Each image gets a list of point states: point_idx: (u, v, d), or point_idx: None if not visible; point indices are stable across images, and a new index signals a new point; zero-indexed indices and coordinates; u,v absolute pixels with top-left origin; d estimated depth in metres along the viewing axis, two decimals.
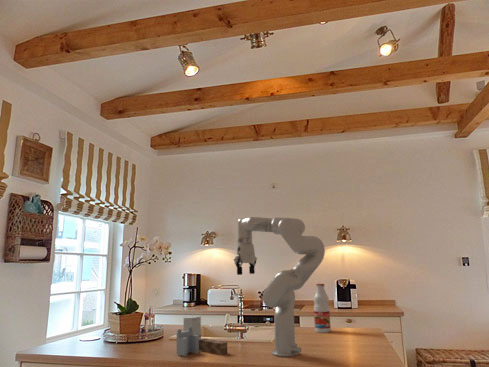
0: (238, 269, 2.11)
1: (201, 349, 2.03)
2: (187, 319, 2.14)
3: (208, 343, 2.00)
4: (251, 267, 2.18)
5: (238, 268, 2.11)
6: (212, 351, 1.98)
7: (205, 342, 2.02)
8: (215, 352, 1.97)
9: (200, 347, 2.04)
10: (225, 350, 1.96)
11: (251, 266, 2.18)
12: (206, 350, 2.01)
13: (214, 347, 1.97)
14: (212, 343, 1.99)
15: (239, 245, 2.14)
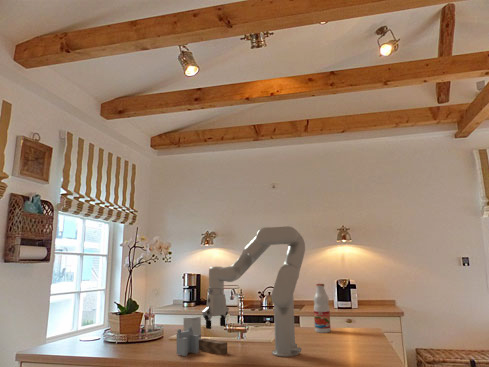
0: (207, 323, 1.97)
1: (201, 349, 2.03)
2: (187, 319, 2.14)
3: (208, 343, 2.00)
4: (222, 319, 2.04)
5: (207, 322, 1.97)
6: (212, 351, 1.98)
7: (205, 342, 2.02)
8: (215, 352, 1.97)
9: (200, 347, 2.04)
10: (225, 350, 1.96)
11: (222, 318, 2.04)
12: (206, 350, 2.01)
13: (214, 347, 1.97)
14: (212, 343, 1.99)
15: (209, 296, 2.00)
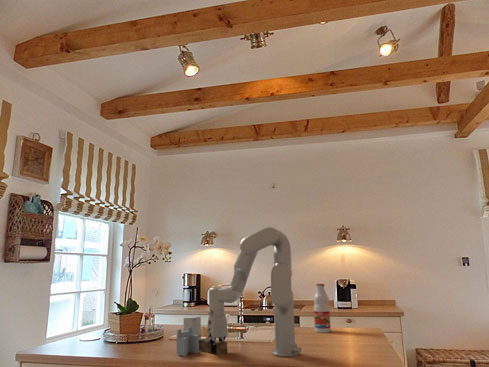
0: (212, 347, 1.96)
1: (201, 349, 2.03)
2: (187, 319, 2.14)
3: (208, 343, 2.00)
4: None
5: (212, 346, 1.96)
6: None
7: (205, 342, 2.02)
8: None
9: (200, 347, 2.04)
10: (225, 350, 1.96)
11: None
12: (206, 350, 2.01)
13: None
14: None
15: (210, 318, 1.98)
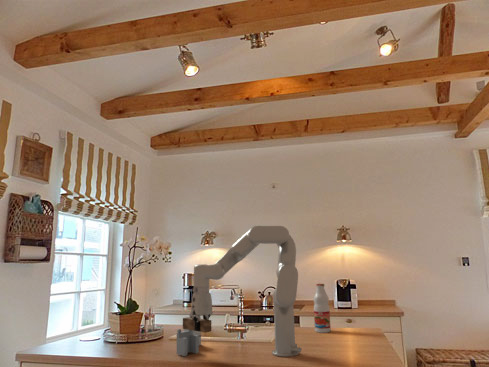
0: (196, 325, 1.91)
1: (185, 327, 1.98)
2: None
3: (192, 321, 1.95)
4: None
5: (196, 323, 1.91)
6: None
7: (189, 320, 1.97)
8: None
9: (184, 325, 1.99)
10: (209, 328, 1.91)
11: None
12: (190, 328, 1.95)
13: None
14: None
15: (194, 295, 1.93)
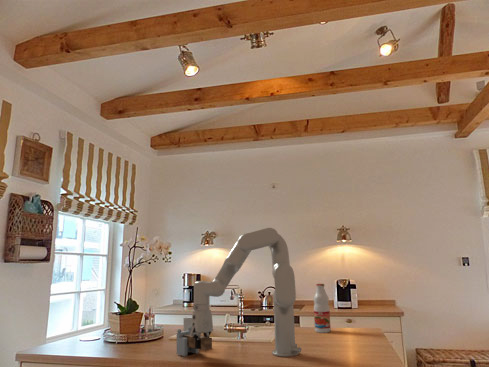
0: (196, 342, 1.90)
1: None
2: (187, 319, 2.14)
3: (192, 338, 1.94)
4: None
5: (196, 341, 1.90)
6: None
7: (189, 337, 1.95)
8: None
9: None
10: (209, 346, 1.89)
11: None
12: (190, 346, 1.94)
13: None
14: None
15: (194, 313, 1.91)
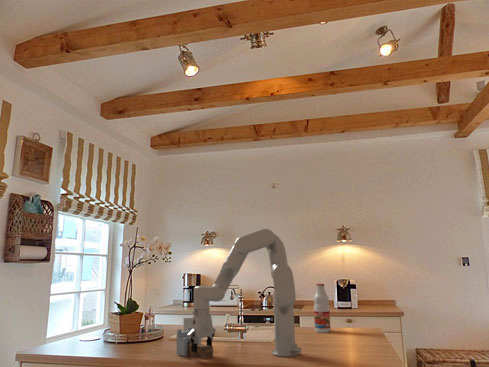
0: (192, 346, 1.88)
1: None
2: (187, 319, 2.14)
3: None
4: (208, 341, 1.95)
5: (192, 345, 1.88)
6: (197, 355, 1.91)
7: (190, 346, 1.94)
8: (200, 356, 1.89)
9: None
10: (210, 354, 1.89)
11: (208, 340, 1.95)
12: (191, 354, 1.93)
13: (199, 351, 1.90)
14: (197, 347, 1.91)
15: (194, 318, 1.91)
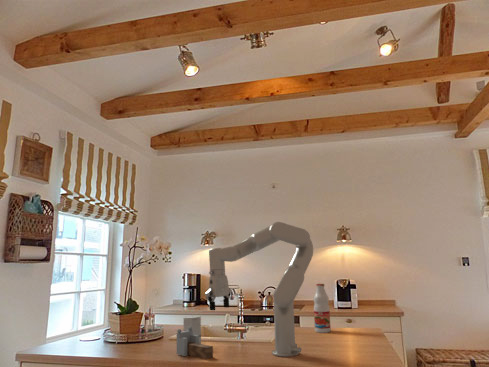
0: (211, 304, 1.95)
1: None
2: (187, 319, 2.14)
3: (193, 347, 1.93)
4: (225, 300, 2.02)
5: (211, 303, 1.95)
6: (197, 355, 1.91)
7: (190, 346, 1.94)
8: (200, 356, 1.89)
9: None
10: (210, 354, 1.89)
11: (225, 299, 2.03)
12: (191, 354, 1.93)
13: (199, 351, 1.90)
14: (197, 347, 1.91)
15: (211, 278, 1.98)
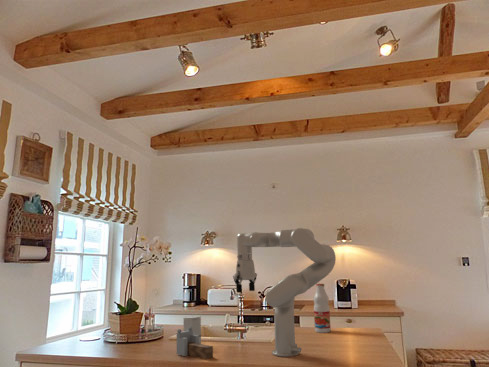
0: (237, 287, 2.03)
1: None
2: (187, 319, 2.14)
3: (193, 347, 1.93)
4: (251, 284, 2.11)
5: (237, 285, 2.03)
6: (197, 355, 1.91)
7: (190, 346, 1.94)
8: (200, 356, 1.89)
9: None
10: (210, 354, 1.89)
11: (251, 283, 2.11)
12: (191, 354, 1.93)
13: (199, 351, 1.90)
14: (197, 347, 1.91)
15: (238, 261, 2.06)
